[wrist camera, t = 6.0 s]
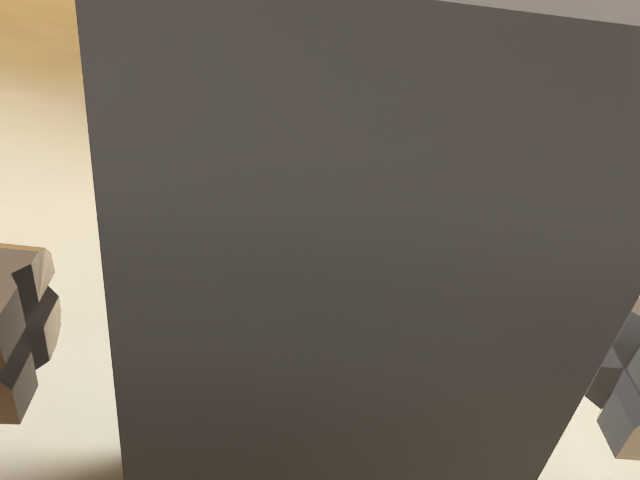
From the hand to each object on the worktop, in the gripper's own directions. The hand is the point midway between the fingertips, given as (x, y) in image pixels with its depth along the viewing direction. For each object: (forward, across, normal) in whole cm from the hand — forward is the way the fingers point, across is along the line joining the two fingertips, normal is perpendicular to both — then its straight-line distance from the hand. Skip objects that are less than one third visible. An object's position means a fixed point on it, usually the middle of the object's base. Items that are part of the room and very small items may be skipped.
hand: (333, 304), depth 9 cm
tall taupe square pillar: (0, 0, +7) cm, 7 cm away
